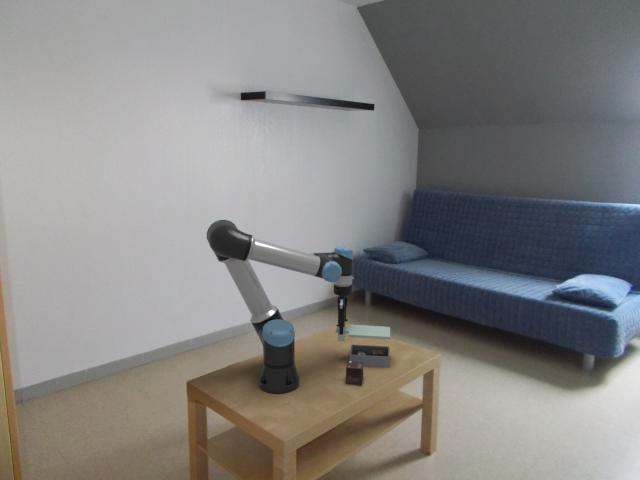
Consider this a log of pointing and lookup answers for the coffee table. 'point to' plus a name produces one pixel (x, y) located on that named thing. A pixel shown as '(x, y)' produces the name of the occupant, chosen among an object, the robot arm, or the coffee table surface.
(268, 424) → the coffee table surface
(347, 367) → the box
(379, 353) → the walnut block
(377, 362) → the tub
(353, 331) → the lid
